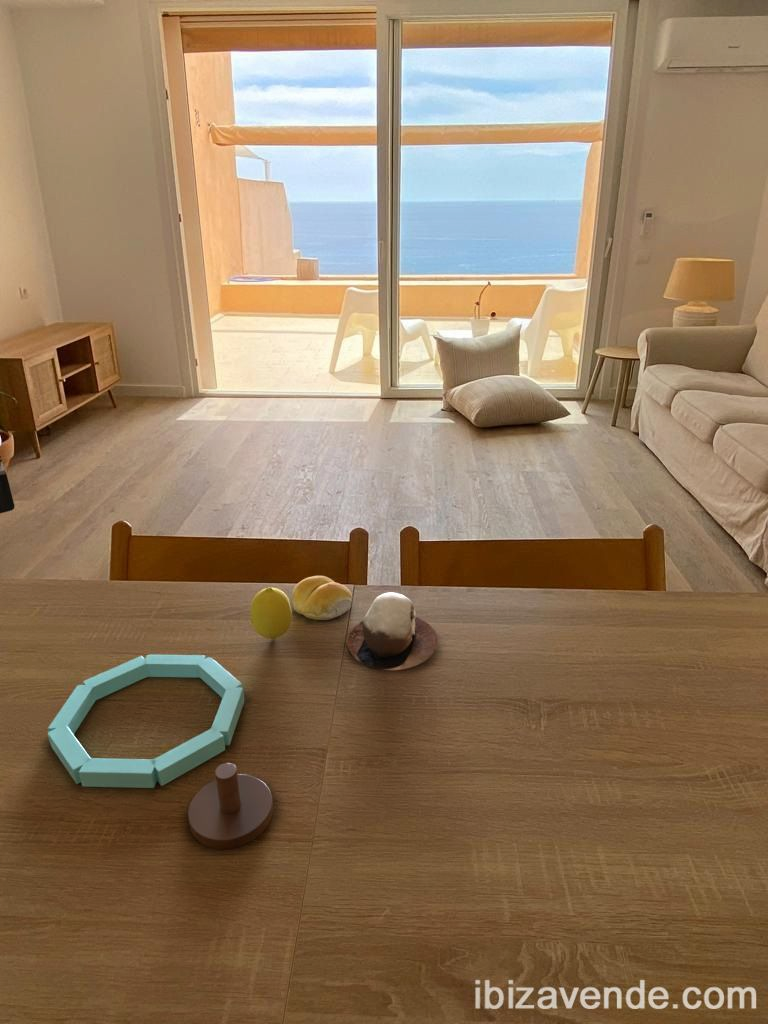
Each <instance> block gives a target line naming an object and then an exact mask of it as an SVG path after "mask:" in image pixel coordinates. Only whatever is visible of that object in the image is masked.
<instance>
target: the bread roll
mask: <svg viewBox="0 0 768 1024" xmlns="http://www.w3.org/2000/svg"><path fill="white" fill-rule="evenodd" d="M290 601H291V607H292V609H293V610H294V611H295V612H296V613H297V614H300V615H303V616H304V617H306V618H307V619H309V620H316V621H328V620H332V619H334V618H338V617H340V616H342V615H343V614H345V613H347V612H348V611H349V610H350V608H351V607H352V601H353V593H352V592H351V590H350V589H349V587H347V586H345V585H344V584H342V583H339V582H335V581H334V580H333V579H331V578H329V577H328V576H325V575H313V576H308V577H305V578H304V579H302V580H301V581H299V582H298V583H297V584H296V585H295V586H294V588H293V590H292V593H291V600H290Z"/></svg>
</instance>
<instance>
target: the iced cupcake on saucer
mask: <svg viewBox="0 0 768 1024" xmlns="http://www.w3.org/2000/svg"><path fill="white" fill-rule="evenodd" d="M437 647H438V636H437V633H436V631H435V630H434V628H433V627H432V625H431V624H430V623H428V622H426V620H424V619H421V618H419V617H418V616H417V612H416V609H415V606H414V603H413V602H412V600H411V599H409V598H408V597H407V596H405V595H403V594H402V593H398V592H392V591H391V592H390V591H389V592H385V593H382V594H380V595H377V596H376V598H375V599H374V600H373V602H371V605H370V607H369V609H368V611H367V612H366V614H365V616H364V618H363V619H362V621H360V622H359V623H357V624H356V625H355V626H354V627H353V628H352V629H351V630H350V632H349V635H348V637H347V648H348V650H349V651H348V652H350V654H351V655H352V657H353V658H354V659H355V660H357V661H358V662H359V663H361V664H363V665H364V666H367V667H369V668H372V669H377V670H382V671H399V670H407V669H411V668H413V667H414V668H415V667H416V666H418V665H421V664H422V663H424V662H425V661H427V660H428V659H429V658H430V657H431V656H432V655H433V654H434V653H435V651H436V649H437Z"/></svg>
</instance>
